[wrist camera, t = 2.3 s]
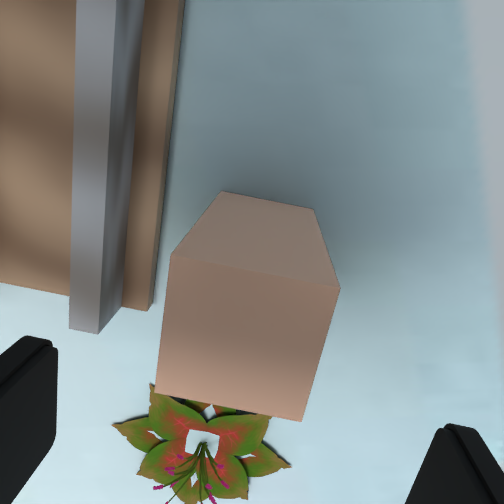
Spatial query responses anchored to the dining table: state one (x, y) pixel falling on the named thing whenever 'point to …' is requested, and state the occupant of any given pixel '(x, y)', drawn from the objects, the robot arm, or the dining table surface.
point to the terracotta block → (247, 308)
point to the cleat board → (86, 148)
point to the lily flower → (207, 469)
